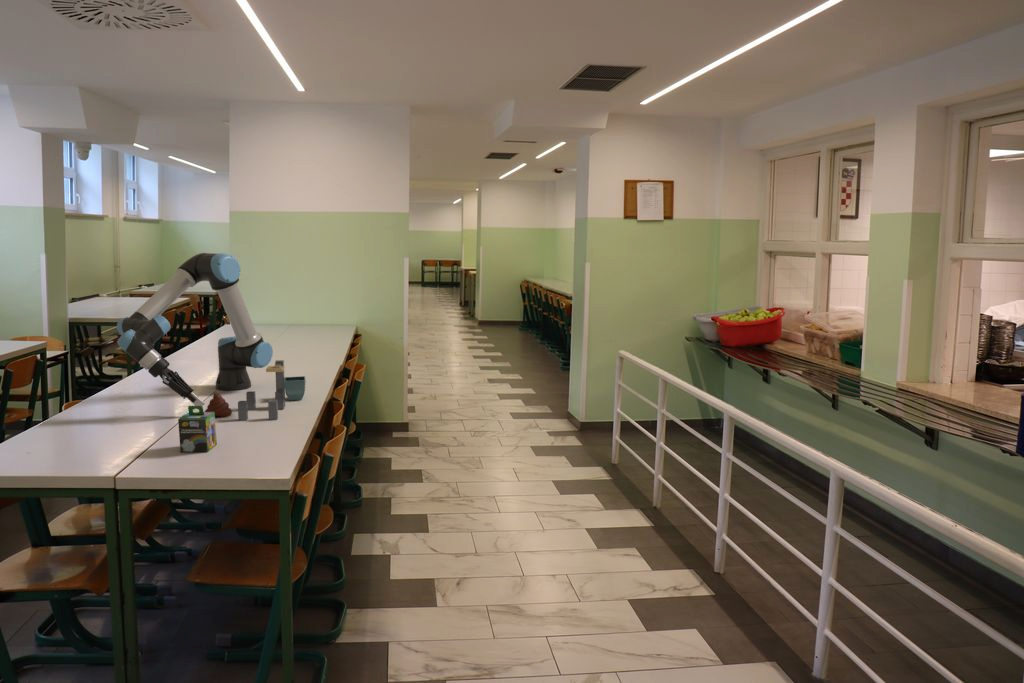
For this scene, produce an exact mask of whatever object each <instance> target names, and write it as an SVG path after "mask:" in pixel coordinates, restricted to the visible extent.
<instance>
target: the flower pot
mask: <svg viewBox="0 0 1024 683" xmlns="http://www.w3.org/2000/svg"><path fill="white" fill-rule="evenodd" d="M284 379H285V396H286V397H287V398H288V400H289V401H302V400H303V398H304V396H305V391H306V382H307V381H306V380H307V379H306V376H301V375H300V376H284Z"/></svg>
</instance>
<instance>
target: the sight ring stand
mask: <svg viewBox="0 0 1024 683" xmlns="http://www.w3.org/2000/svg"><path fill="white" fill-rule="evenodd" d="M265 373H275V392H276V391H284V409H285V408H286V392H285V379H284V377H285V360H284V359H283V360H279V359H277V360H275V363H274V365H269V366H268V365H267V366H266V369H265Z"/></svg>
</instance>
